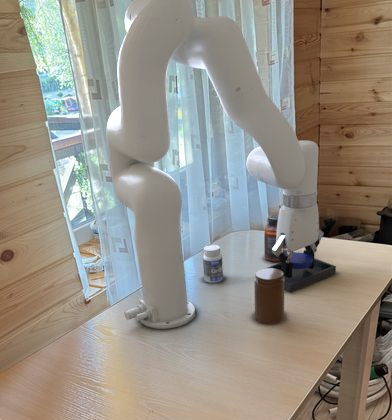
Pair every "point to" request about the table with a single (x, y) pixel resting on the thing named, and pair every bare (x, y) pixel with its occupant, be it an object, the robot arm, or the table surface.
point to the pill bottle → (212, 264)
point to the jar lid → (301, 260)
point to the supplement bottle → (271, 238)
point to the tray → (307, 275)
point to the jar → (269, 295)
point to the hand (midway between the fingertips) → (297, 271)
